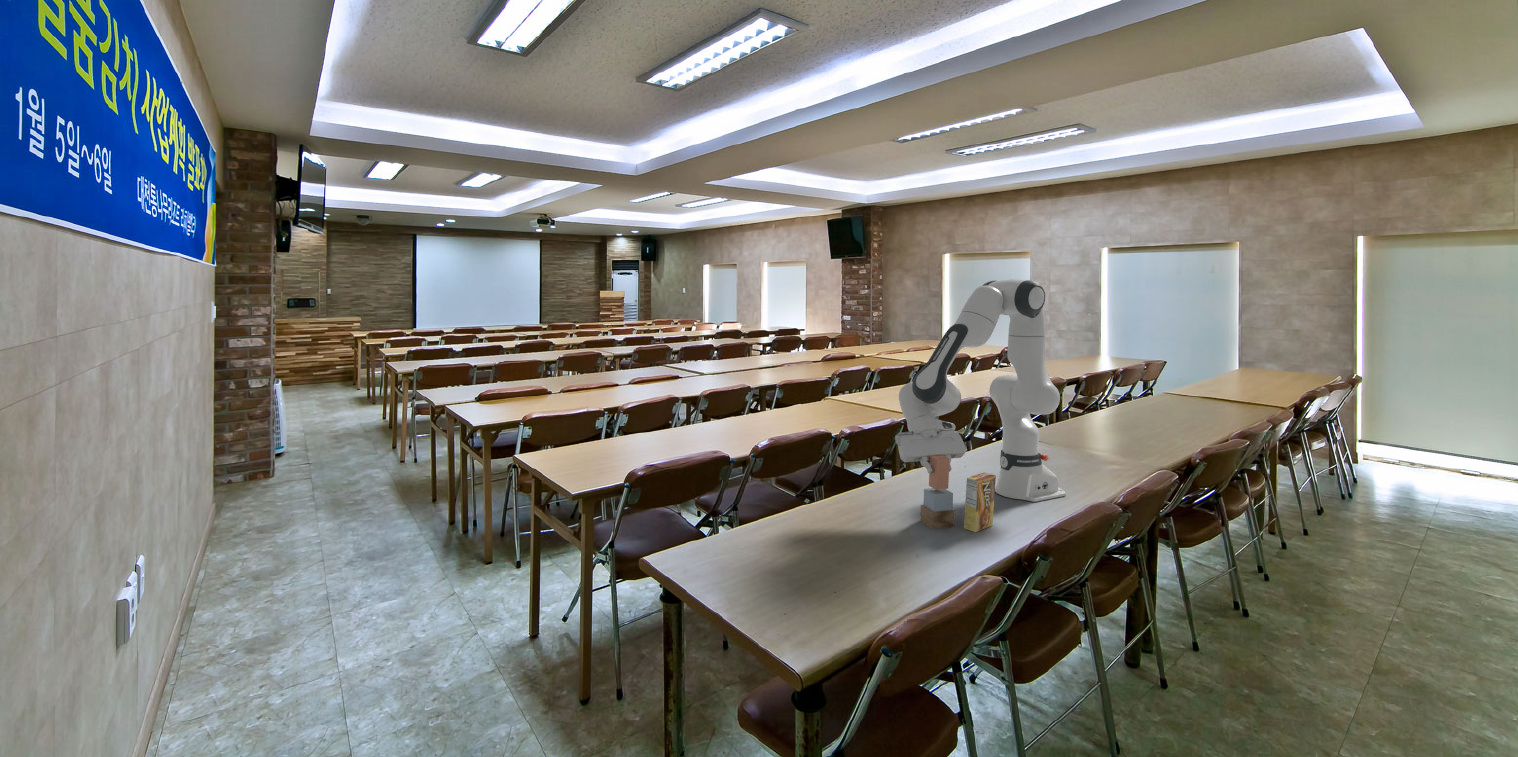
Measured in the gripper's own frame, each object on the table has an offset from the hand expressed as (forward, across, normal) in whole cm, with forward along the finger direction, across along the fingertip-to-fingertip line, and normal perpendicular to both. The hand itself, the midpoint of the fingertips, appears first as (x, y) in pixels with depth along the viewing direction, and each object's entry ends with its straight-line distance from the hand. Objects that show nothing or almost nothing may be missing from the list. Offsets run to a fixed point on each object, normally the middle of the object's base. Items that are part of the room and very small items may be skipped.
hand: (940, 471), depth 196 cm
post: (+3, 0, +4) cm, 5 cm away
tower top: (+7, 0, +8) cm, 11 cm away
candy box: (+15, +10, +8) cm, 20 cm away
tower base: (+11, 0, +12) cm, 16 cm away
